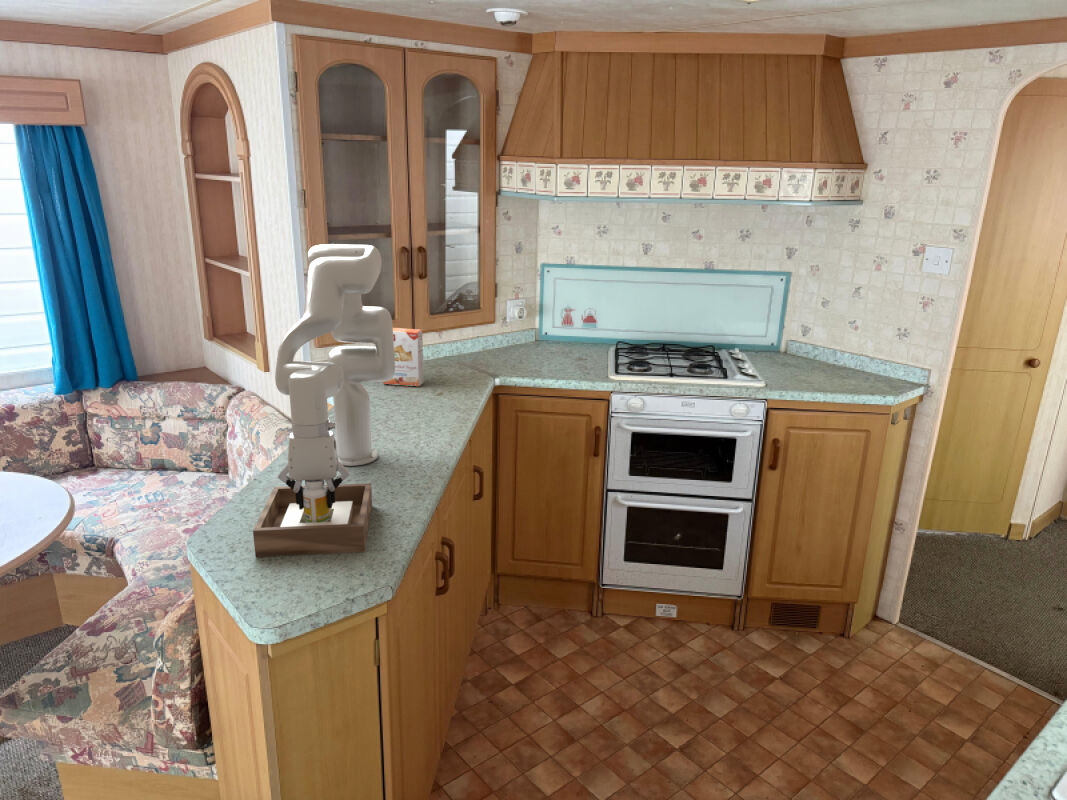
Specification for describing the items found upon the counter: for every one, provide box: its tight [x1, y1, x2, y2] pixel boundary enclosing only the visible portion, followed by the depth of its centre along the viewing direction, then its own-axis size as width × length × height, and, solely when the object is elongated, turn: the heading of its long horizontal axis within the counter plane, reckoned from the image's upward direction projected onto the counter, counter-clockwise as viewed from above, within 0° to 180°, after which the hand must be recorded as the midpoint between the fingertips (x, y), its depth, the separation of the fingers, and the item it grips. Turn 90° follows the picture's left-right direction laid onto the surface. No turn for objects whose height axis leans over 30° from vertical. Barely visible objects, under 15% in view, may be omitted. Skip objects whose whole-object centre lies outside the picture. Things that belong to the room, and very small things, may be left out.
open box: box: [252, 483, 373, 558], centre depth 164 cm, size 22×22×6 cm
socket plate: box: [280, 501, 353, 527], centre depth 164 cm, size 14×14×2 cm
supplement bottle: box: [303, 480, 330, 523], centre depth 163 cm, size 5×5×10 cm
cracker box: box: [382, 327, 424, 386], centre depth 274 cm, size 14×6×21 cm, turn 81°
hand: (316, 505), depth 163 cm, fingers closed on supplement bottle, 5 cm apart
